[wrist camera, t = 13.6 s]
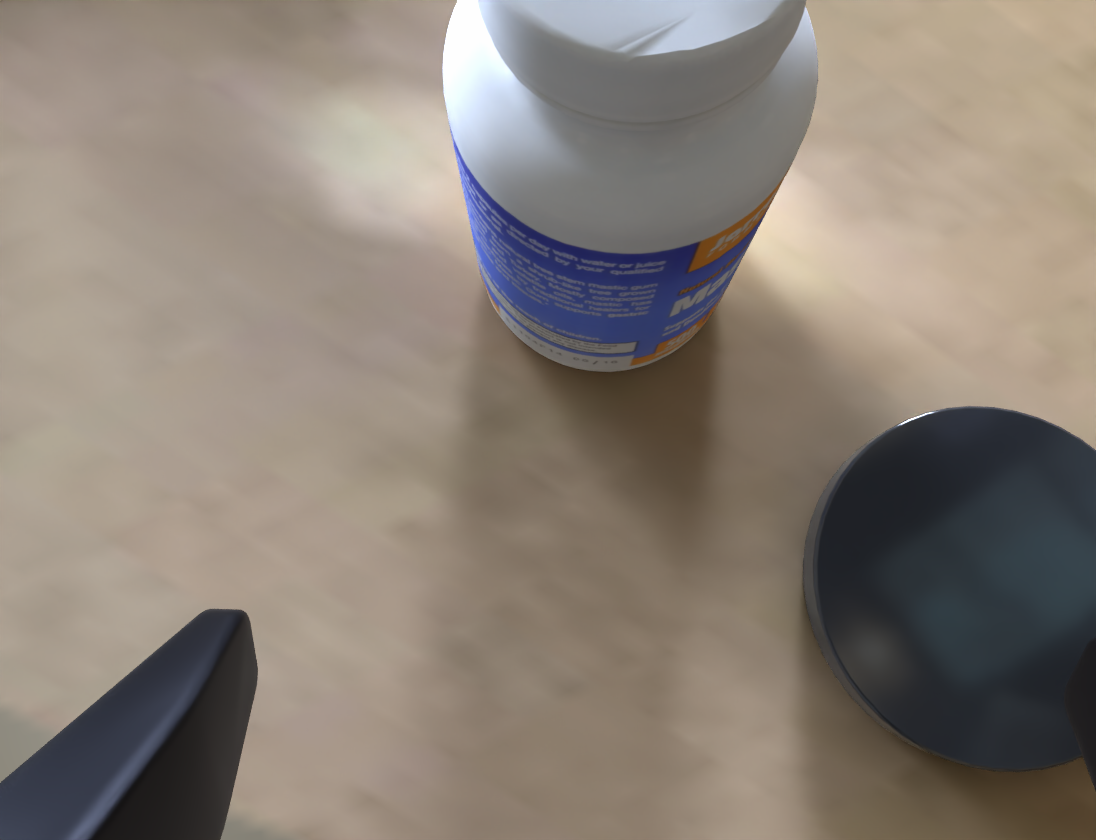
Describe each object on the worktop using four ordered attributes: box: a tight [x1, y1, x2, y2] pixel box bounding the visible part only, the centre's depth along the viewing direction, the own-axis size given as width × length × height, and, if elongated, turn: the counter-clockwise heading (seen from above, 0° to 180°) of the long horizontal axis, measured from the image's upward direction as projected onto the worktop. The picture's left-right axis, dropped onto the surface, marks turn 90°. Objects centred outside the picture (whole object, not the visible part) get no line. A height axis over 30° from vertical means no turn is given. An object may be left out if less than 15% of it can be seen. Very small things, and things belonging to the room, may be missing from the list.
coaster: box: [803, 406, 1096, 772], centre depth 17 cm, size 7×7×1 cm
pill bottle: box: [443, 0, 818, 372], centre depth 14 cm, size 5×5×10 cm
